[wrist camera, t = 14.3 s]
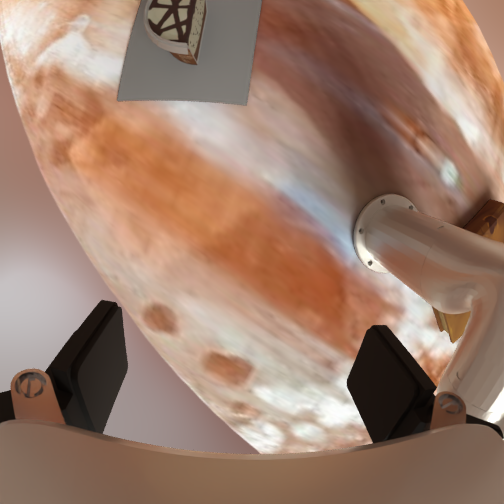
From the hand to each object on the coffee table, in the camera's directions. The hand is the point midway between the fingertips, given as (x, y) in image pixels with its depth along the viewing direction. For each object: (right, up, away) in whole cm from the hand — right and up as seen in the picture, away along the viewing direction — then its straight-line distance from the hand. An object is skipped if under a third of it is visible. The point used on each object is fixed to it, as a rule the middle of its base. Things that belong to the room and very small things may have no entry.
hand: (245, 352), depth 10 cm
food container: (-9, +33, +20) cm, 40 cm away
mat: (-8, +33, +20) cm, 40 cm away
